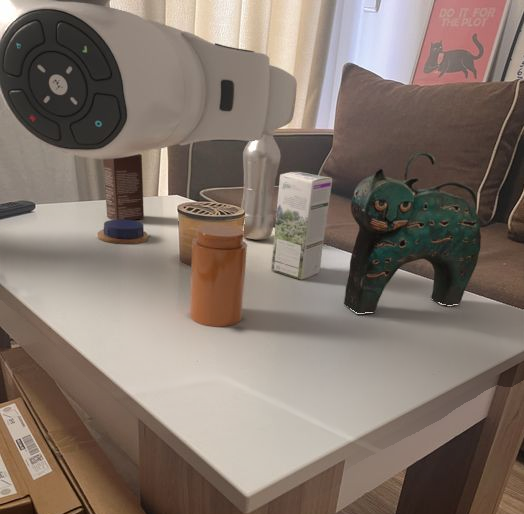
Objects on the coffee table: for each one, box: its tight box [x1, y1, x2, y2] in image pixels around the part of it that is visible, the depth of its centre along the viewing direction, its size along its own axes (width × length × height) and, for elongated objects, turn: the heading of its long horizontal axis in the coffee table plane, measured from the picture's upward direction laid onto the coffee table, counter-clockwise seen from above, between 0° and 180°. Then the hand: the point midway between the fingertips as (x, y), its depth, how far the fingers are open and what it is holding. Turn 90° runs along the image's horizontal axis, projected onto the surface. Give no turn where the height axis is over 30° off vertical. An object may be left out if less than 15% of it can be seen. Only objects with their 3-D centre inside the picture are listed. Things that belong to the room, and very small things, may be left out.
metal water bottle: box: [240, 130, 282, 241], centre depth 92 cm, size 6×7×20 cm
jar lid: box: [103, 219, 145, 239], centre depth 89 cm, size 6×6×2 cm
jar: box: [189, 224, 248, 327], centre depth 61 cm, size 6×6×10 cm
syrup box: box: [270, 171, 333, 280], centre depth 78 cm, size 6×6×14 cm
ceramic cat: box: [343, 151, 482, 313], centre depth 68 cm, size 20×6×20 cm, turn 112°
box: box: [102, 153, 145, 221], centre depth 99 cm, size 6×4×12 cm
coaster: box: [97, 228, 149, 245], centre depth 90 cm, size 8×8×1 cm
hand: (207, 89), depth 55 cm, fingers open, 8 cm apart
